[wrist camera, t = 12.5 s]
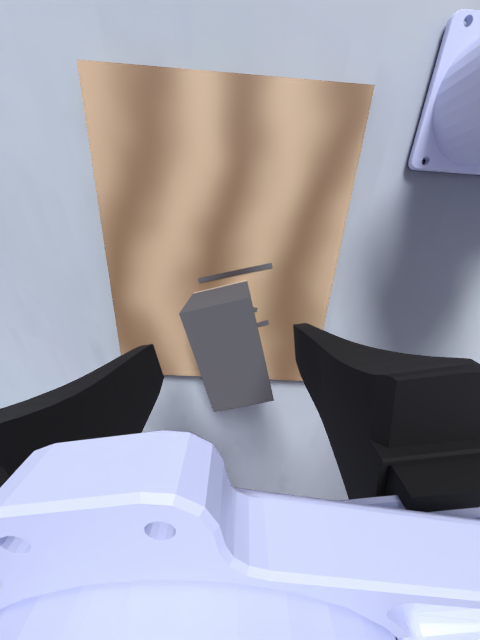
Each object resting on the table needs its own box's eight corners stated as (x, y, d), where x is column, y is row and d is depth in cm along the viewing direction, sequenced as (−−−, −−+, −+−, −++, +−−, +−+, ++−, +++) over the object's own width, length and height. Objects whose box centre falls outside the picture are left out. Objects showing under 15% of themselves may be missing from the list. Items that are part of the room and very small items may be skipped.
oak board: (364, 95, 15) (375, 84, 14) (308, 374, 23) (312, 381, 22) (88, 72, 15) (76, 58, 14) (129, 365, 23) (123, 373, 22)
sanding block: (247, 279, 18) (250, 297, 14) (265, 363, 21) (273, 400, 17) (193, 292, 19) (179, 313, 14) (219, 372, 22) (214, 411, 17)
